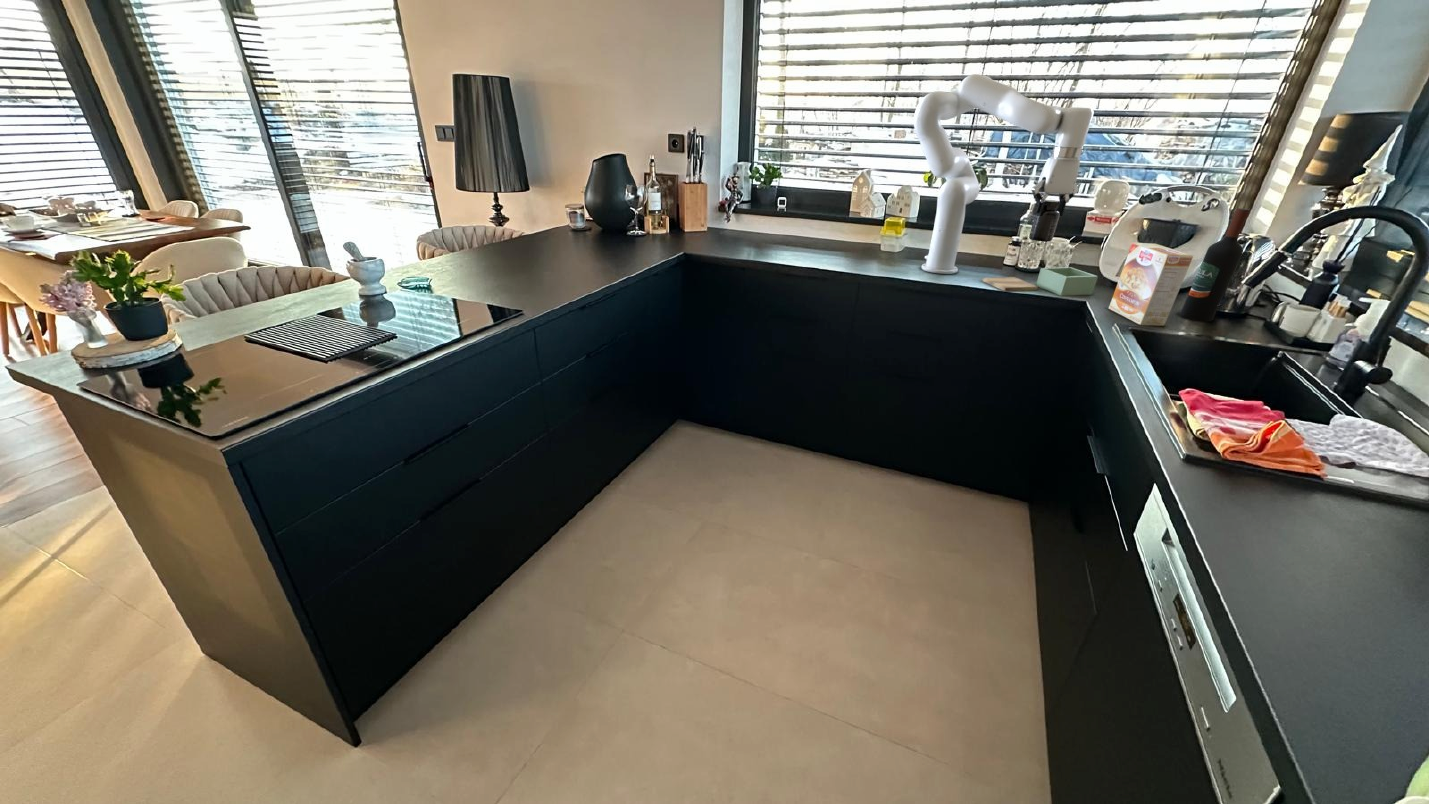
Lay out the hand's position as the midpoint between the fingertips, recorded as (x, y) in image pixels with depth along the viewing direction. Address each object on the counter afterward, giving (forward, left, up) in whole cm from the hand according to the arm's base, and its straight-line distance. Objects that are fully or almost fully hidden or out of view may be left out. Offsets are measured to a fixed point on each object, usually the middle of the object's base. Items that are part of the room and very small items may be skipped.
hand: (1047, 214), depth 175 cm
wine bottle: (+35, +29, -23) cm, 51 cm away
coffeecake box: (+32, +11, -23) cm, 41 cm away
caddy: (+5, +10, -23) cm, 26 cm away
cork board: (-2, -5, -23) cm, 24 cm away
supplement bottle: (0, 0, -8) cm, 8 cm away
